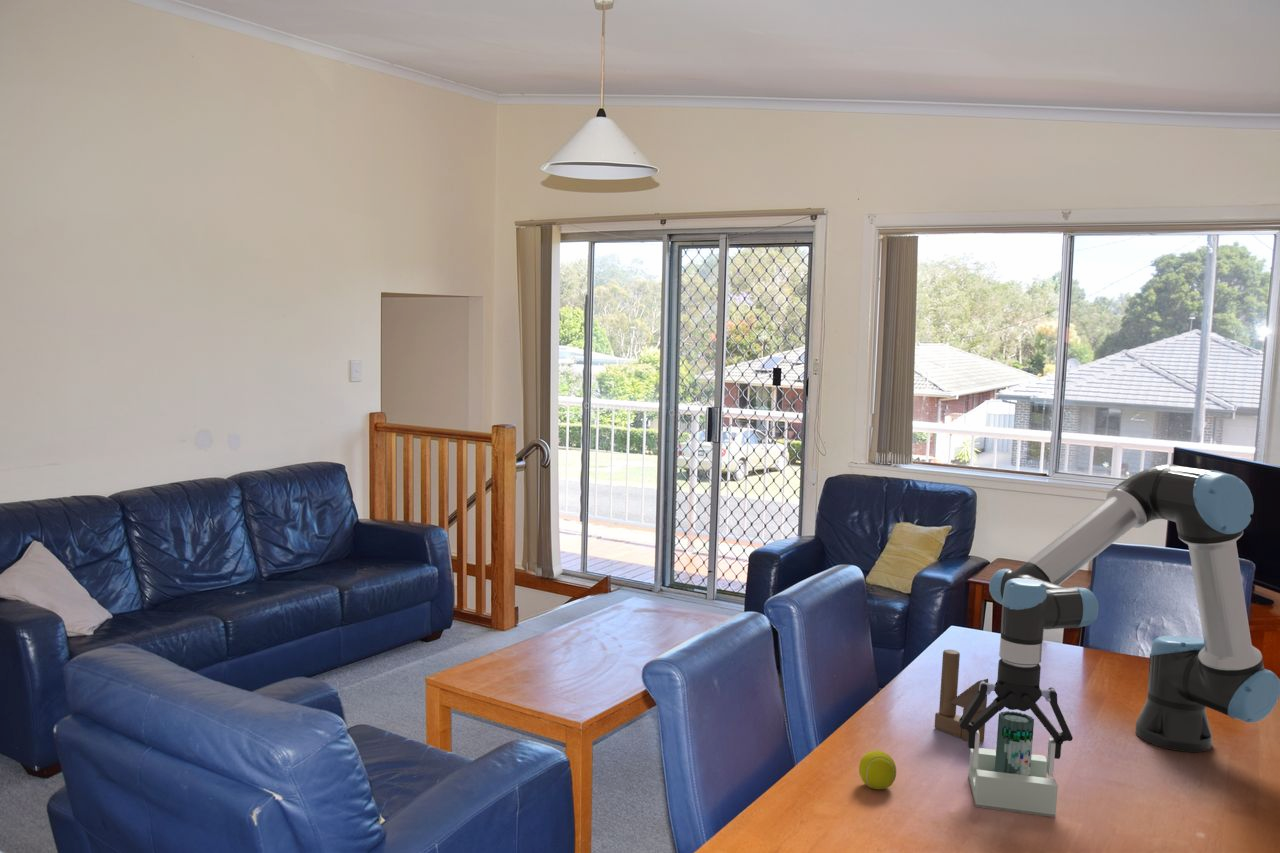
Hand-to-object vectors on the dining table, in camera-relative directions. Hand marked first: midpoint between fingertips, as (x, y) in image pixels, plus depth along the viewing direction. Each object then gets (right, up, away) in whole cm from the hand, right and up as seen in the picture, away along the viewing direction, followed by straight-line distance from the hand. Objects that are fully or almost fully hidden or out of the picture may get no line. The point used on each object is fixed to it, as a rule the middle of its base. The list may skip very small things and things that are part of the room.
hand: (1011, 769), depth 193 cm
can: (0, -5, 0) cm, 5 cm away
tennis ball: (-25, -4, +2) cm, 26 cm away
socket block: (0, -5, 0) cm, 5 cm away
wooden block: (-1, -3, +30) cm, 30 cm away
